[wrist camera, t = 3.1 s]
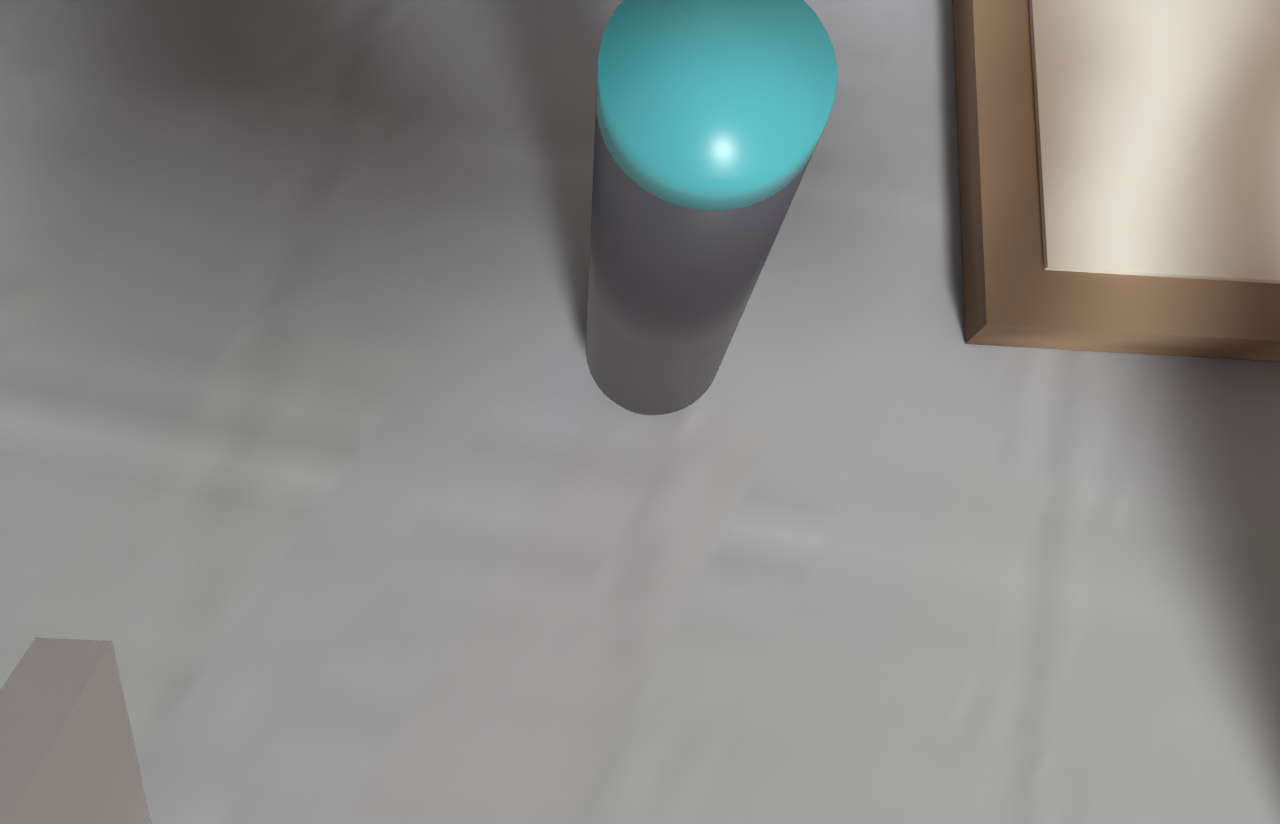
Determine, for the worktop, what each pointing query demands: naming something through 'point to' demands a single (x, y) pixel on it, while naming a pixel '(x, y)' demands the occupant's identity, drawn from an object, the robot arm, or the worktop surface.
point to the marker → (693, 181)
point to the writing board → (1120, 175)
